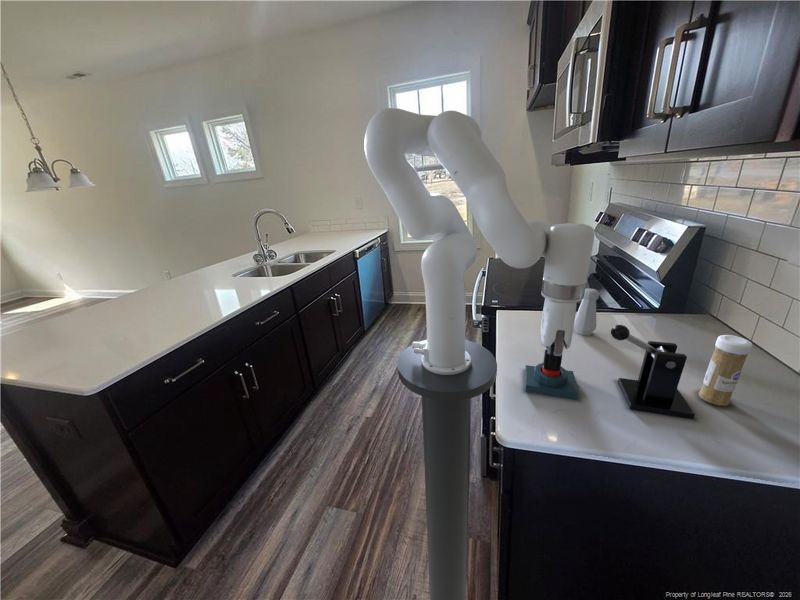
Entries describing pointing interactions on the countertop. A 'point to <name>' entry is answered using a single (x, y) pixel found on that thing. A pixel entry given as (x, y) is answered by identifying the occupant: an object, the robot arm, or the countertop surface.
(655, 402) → the switch bracket
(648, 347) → the switch lever
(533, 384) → the stop block
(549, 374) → the stop button
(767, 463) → the countertop surface
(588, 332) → the salt shaker
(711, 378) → the sprinkles bottle
